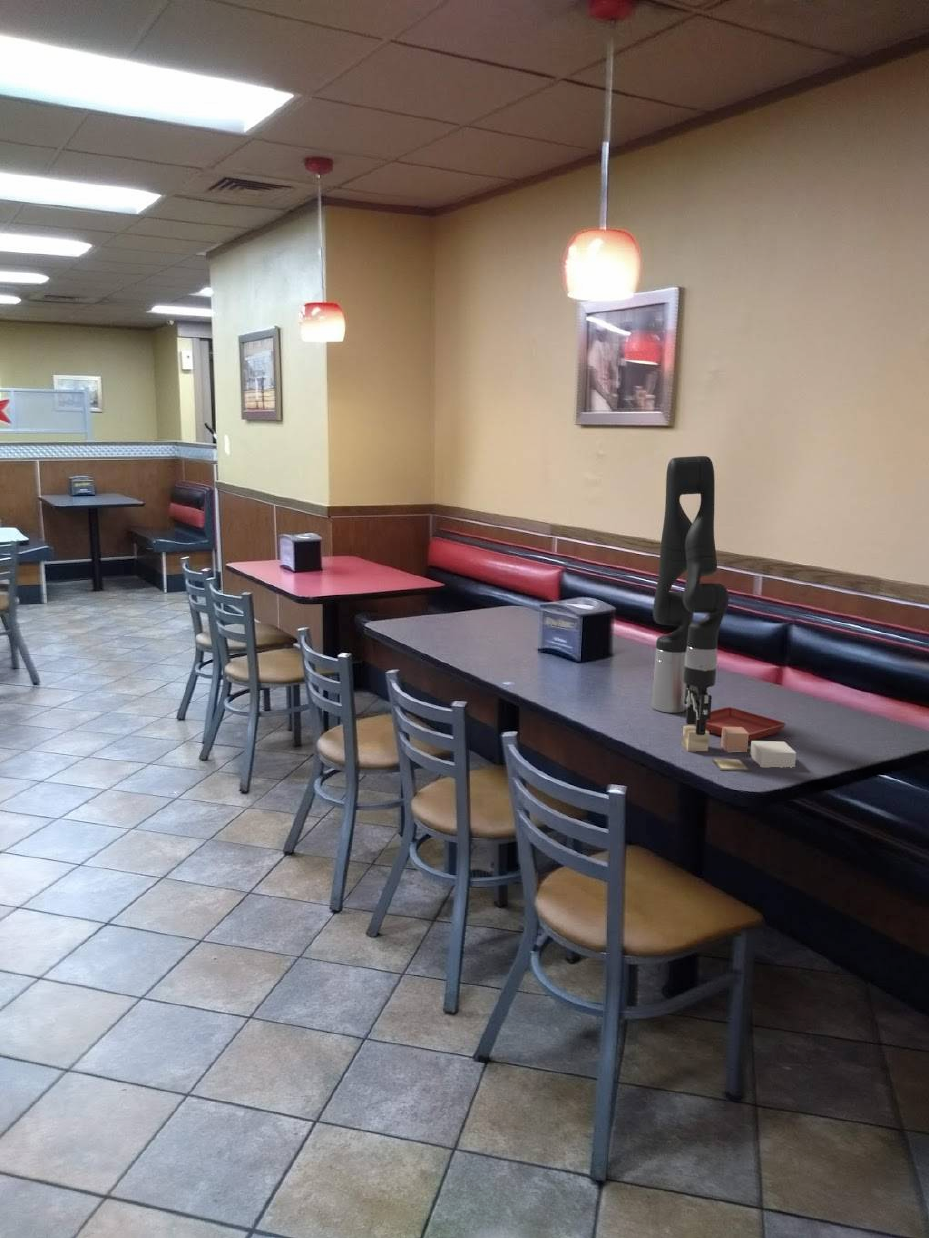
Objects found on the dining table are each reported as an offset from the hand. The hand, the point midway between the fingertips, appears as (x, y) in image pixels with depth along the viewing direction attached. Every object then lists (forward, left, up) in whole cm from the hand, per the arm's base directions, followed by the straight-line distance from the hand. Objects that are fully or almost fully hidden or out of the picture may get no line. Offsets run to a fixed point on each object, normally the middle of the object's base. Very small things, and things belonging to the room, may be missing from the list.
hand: (695, 729), depth 226 cm
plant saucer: (-15, +16, -6) cm, 22 cm away
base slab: (+9, +16, -5) cm, 19 cm away
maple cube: (0, 0, -5) cm, 5 cm away
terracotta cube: (0, +10, -5) cm, 11 cm away
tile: (+12, +5, -5) cm, 14 cm away
